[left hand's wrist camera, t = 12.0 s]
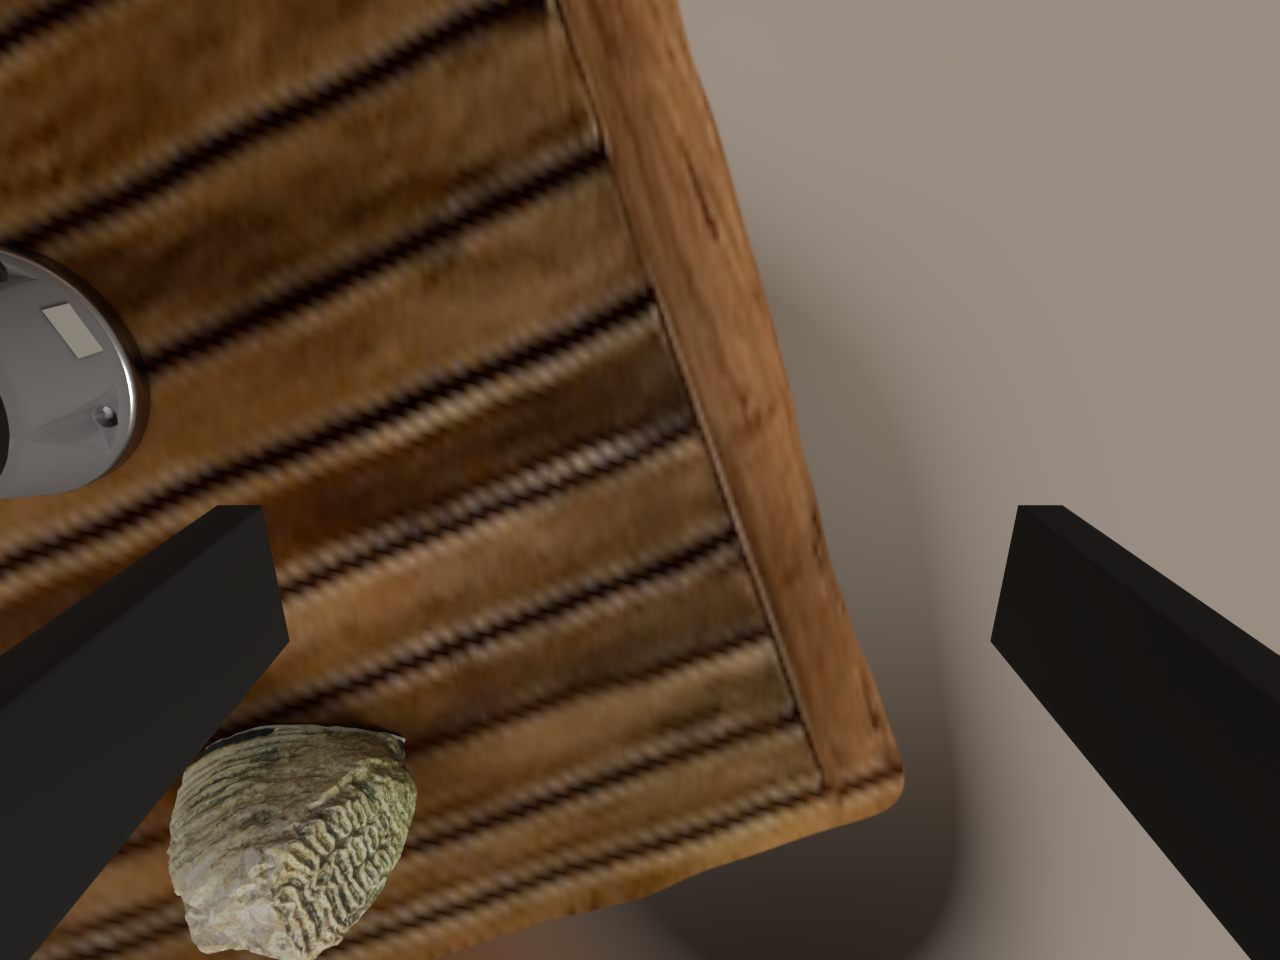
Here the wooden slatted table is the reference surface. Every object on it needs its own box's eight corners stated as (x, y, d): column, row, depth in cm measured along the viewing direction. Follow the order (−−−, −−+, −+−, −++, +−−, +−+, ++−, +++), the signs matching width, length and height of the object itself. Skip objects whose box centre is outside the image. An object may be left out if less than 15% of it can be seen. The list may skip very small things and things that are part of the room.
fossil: (449, 777, 56) (386, 967, 42) (236, 825, 58) (107, 1023, 44) (406, 687, 53) (322, 859, 39) (183, 741, 55) (25, 924, 41)
